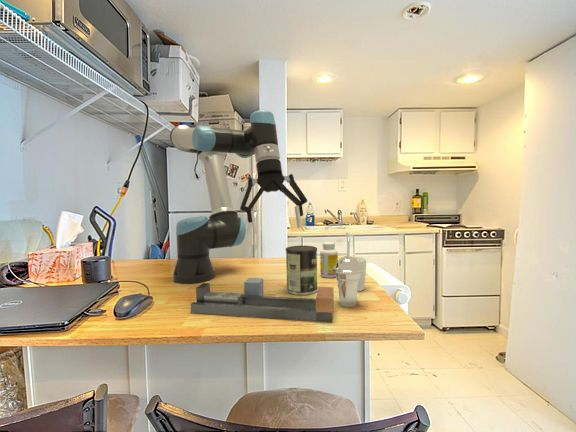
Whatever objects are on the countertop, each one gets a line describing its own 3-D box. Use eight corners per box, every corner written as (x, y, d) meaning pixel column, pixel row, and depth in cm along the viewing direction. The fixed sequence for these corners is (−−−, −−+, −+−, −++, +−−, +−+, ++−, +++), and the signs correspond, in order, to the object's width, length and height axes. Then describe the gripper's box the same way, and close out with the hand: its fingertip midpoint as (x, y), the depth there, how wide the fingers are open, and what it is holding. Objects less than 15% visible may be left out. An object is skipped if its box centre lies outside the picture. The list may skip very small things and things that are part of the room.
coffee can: (318, 285, 103) (318, 245, 101) (315, 296, 92) (315, 251, 91) (289, 284, 105) (289, 244, 103) (283, 294, 95) (282, 250, 93)
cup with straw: (327, 305, 85) (327, 235, 83) (341, 296, 92) (340, 232, 90) (356, 311, 80) (356, 238, 78) (367, 301, 87) (368, 233, 86)
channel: (190, 313, 81) (190, 291, 80) (206, 301, 89) (205, 281, 89) (332, 322, 73) (332, 298, 73) (333, 308, 82) (333, 287, 82)
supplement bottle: (340, 275, 116) (340, 242, 115) (333, 279, 110) (333, 245, 109) (324, 272, 119) (324, 241, 118) (317, 276, 114) (317, 243, 113)
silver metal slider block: (196, 308, 83) (195, 287, 82) (204, 303, 87) (203, 283, 87) (237, 311, 80) (236, 289, 80) (243, 305, 85) (242, 284, 84)
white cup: (361, 293, 94) (361, 262, 93) (338, 289, 98) (338, 260, 97) (369, 287, 100) (369, 257, 100) (347, 283, 105) (347, 255, 104)
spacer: (244, 302, 88) (244, 282, 88) (249, 296, 93) (248, 277, 92) (259, 302, 88) (258, 283, 87) (263, 297, 92) (263, 278, 92)
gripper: (226, 161, 85) (235, 234, 82) (310, 154, 89) (321, 223, 87) (227, 168, 92) (235, 236, 90) (304, 161, 97) (314, 226, 95)
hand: (277, 230), depth 89 cm, fingers open, 13 cm apart
